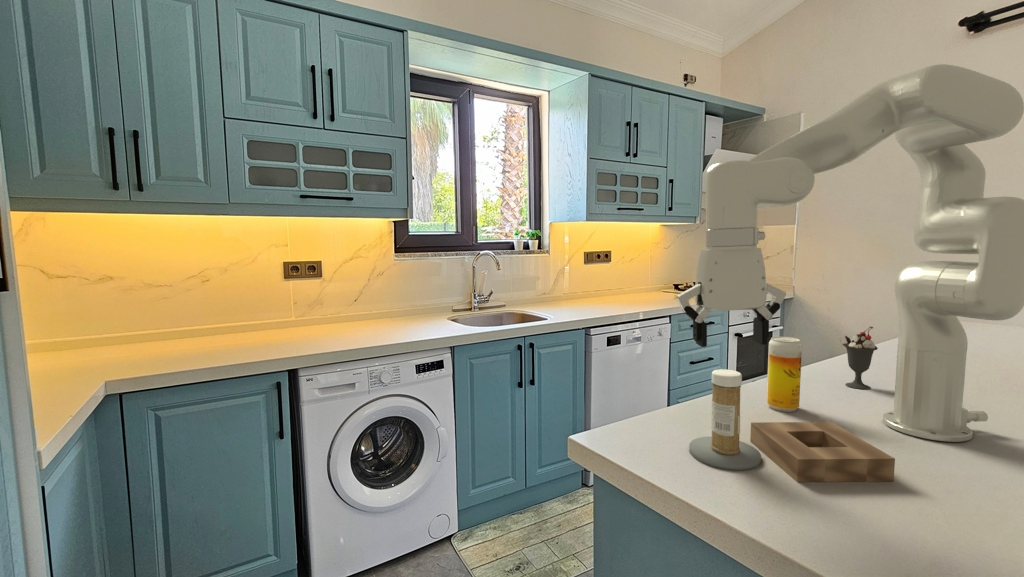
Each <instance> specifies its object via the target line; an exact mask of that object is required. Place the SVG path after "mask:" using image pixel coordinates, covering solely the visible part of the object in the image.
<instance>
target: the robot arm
mask: <svg viewBox="0 0 1024 577" xmlns="http://www.w3.org/2000/svg"><path fill="white" fill-rule="evenodd" d="M1023 115H1024V100H1023V97H1022V95H1021V93H1020V92H1019V91H1018V89H1016V88H1015V87H1014V86H1012V85H1011V84H1010V83H1007V82H1006V81H1004V80H1001V79H998V78H996V77H993V76H989V75H986V74H983V73H982V72H981V73H980V72H979V71H976V70H972V69H969V68H966V67H962V66H959V65H953V64H952V65H951V64H945V63H944V64H943V63H942V64H941V63H939V64H933V65H932V64H931V65H929V66H925V67H923V68H920V69H917V70H914V71H911V72H909V73H905V74H901V75H900V76H897V77H893V78H891V79H888V80H886V81H882V82H880V83H878V84H876V85H874V86H872V87H871V88H869V89H868V90H866V91H864V92H863V93H861V94H859V95H858V96H857V97H855V98H854V99H853V100H851V101H849V102H847V103H846V104H844V105H843V106H842V107H840V108H839V109H837V110H836V111H834V112H832V113H831V114H829V115H828V116H825V117H824V118H822V119H821V120H820V121H817V122H816V123H813V124H811V125H810V126H807V127H804V128H803V129H802V130H800V131H798V132H797V133H794V134H793V135H791V136H789V137H788V138H786V139H784V140H781V141H780V142H778V143H776V144H774V145H772V146H769V148H766V149H765V150H763V151H761V152H759V153H758V154H756V155H755V156H753V157H752V158H750V159H748V160H747V159H746V160H745V159H743V160H740V159H739V160H736V159H735V160H727V161H722V162H721V161H720V162H717V163H714V164H712V165H710V166H709V167H708V169H706V172H705V249H704V248H703V249H700V251H699V255H698V260H697V267H696V274H695V282H694V283H695V284H694V285H693V286H691V287H690V288H687V289H686V290H684V291H683V292H681V293H679V294H677V295H676V301H677V303H678V305H679V306H680V308H681V310H682V312H683V313H684V314H685V315H686V316H687V317H688V318H690V320H692V339H693V340H694V341H695V345H696V344H697V346H700V347H701V348H706V347H707V346H708V324H707V323H706V322H705V319H706V318H707V317H708V316H709V315H710V314H711V313H712V312H722V311H724V312H725V311H744V310H746V311H747V310H749V311H750V310H751V311H752V312H753V313H754V314H755V315H756V317H753V323H752V324H753V326H752V328H753V329H752V334H753V336H752V340H753V341H754V342H756V343H758V344H760V345H765V346H767V345H768V338H769V336H770V321H771V320H772V319H773V318H774V315H775V314H776V313H777V312H778V311H779V310H780V309H781V304H782V303H783V302H784V300H785V298H786V296H787V293H786V291H784V290H782V289H780V288H777V287H776V286H774V285H771V284H769V283H768V282H767V276H766V275H767V274H766V268H765V267H766V266H765V261H764V256H763V251H762V248H761V247H758V245H759V241H762V240H763V241H764V240H765V238H766V233H765V231H759V228H758V209H764V208H765V209H766V208H776V207H785V206H791V205H793V204H796V203H799V202H801V201H803V200H804V199H806V198H807V197H808V195H810V193H811V192H812V190H813V188H814V185H815V175H816V174H819V173H823V172H827V171H830V170H834V169H837V168H838V167H841V166H844V165H846V164H848V163H849V164H850V163H852V162H853V161H855V160H857V159H858V158H860V157H861V156H863V155H864V154H865V153H867V152H868V151H870V150H871V149H872V148H874V147H876V146H877V145H878V144H880V143H881V142H883V141H885V140H886V139H887V138H889V137H890V136H893V135H894V137H895V140H896V142H897V143H898V145H899V146H900V147H901V148H902V149H903V150H904V151H905V152H906V153H907V154H908V155H909V156H910V158H911V159H912V161H914V163H915V165H916V166H917V169H918V171H919V174H920V186H919V187H920V188H919V193H918V194H919V195H918V200H917V209H916V214H915V222H914V227H913V239H914V244H915V245H916V246H917V247H918V248H919V249H920V250H922V251H924V252H927V253H934V254H944V255H945V254H946V255H947V254H952V255H978V262H973V261H972V262H971V261H970V262H967V261H955V260H953V261H951V260H949V261H948V260H924V261H918V262H914V263H911V264H909V265H907V266H905V267H904V268H902V269H901V270H900V271H899V273H898V274H897V276H896V278H895V281H894V293H895V300H896V305H897V312H898V342H897V351H896V352H897V355H896V365H895V366H896V368H895V381H894V382H895V384H894V396H893V397H894V399H893V411H887V412H885V413H884V414H882V422H883V423H884V424H885V425H886V426H887V427H889V428H891V429H893V430H895V431H898V432H900V433H904V434H905V435H910V436H912V437H917V438H920V439H926V440H931V441H937V442H946V443H947V442H949V443H951V442H952V443H962V442H966V441H970V440H971V439H972V438H973V431H972V429H971V428H970V427H969V426H968V425H967V424H970V423H971V422H987V421H988V419H989V416H988V414H987V412H985V411H983V410H970V411H969V410H968V409H966V408H965V407H963V401H964V392H965V391H964V390H965V380H966V379H965V378H966V367H967V366H966V365H967V355H968V344H969V343H968V342H969V341H968V335H967V333H966V331H965V329H964V327H963V325H962V323H961V321H960V319H959V318H958V317H962V318H969V319H975V320H977V319H978V320H983V321H1005V320H1010V319H1012V318H1014V317H1015V316H1017V315H1018V314H1019V313H1020V312H1021V311H1022V310H1023V309H1024V199H1023V198H1021V197H1017V196H991V197H984V192H985V184H986V177H987V175H986V168H985V165H984V164H983V162H982V160H981V159H980V157H979V156H977V154H976V153H975V152H973V150H971V149H970V148H969V147H968V146H967V145H968V144H972V143H978V142H984V141H989V140H994V139H996V138H997V139H998V138H1000V137H1003V136H1004V135H1006V134H1008V133H1009V132H1011V131H1012V130H1014V129H1015V128H1016V127H1017V126H1018V125H1019V123H1020V122H1021V119H1023ZM768 294H769V295H771V299H770V301H769V302H768V303H767V295H768ZM692 298H694V303H695V305H696V308H695V309H694V308H693V307H692V306H691V304H690V300H691V299H692ZM766 303H767V304H766ZM782 305H783V304H782Z"/></svg>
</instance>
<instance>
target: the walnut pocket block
mask: <svg viewBox="0 0 1024 577" xmlns="http://www.w3.org/2000/svg"><path fill="white" fill-rule="evenodd" d="M749 437H750V438H749V442H750V441H751V442H750V443H751V444H752V445H754V446H755V447H756V448H757V449H759V451H761V452H762V453H763V454H764V455H765V456H767V458H769V459H770V460H771V461H772V462H773V463H775V465H777V466H778V467H779V468H780V469H781V470H782V471H784V472H785V473H786V474H787V475H789V476H790V477H791V478H792V479H793V480H794V481H796V483H797V482H798V483H800V482H801V483H803V482H804V483H805V482H807V483H811V482H812V483H814V482H815V483H817V482H822V483H823V482H824V483H826V482H827V483H828V482H829V483H831V482H832V483H833V482H837V483H839V482H847V483H848V482H894V480H895V464H896V459H895V457H893V456H891V455H890V454H888V453H886V452H885V451H883V450H881V449H880V448H877V447H875V446H874V445H872V444H871V443H869V442H867V441H866V440H864V439H862V438H860V437H858V436H857V435H855V434H853V433H851V432H850V431H848V430H846V429H844V428H843V427H841V426H839V425H837V424H836V423H834V422H832V421H791V422H787V421H786V422H784V421H783V422H781V421H779V422H777V421H776V422H769V421H768V422H764V421H763V422H762V421H761V422H750V436H749Z"/></svg>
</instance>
